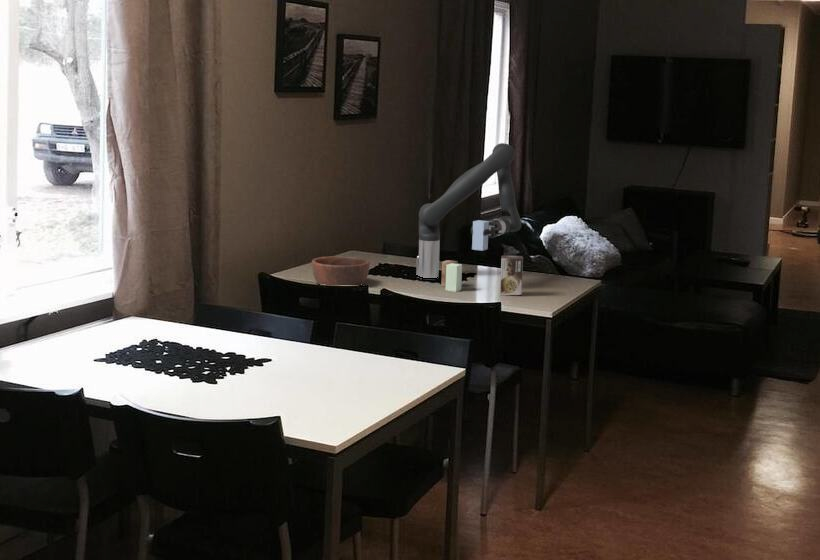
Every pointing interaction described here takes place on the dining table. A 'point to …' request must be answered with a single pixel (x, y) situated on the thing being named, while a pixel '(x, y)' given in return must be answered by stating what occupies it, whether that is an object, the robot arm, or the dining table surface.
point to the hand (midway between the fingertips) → (478, 232)
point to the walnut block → (444, 263)
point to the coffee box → (511, 274)
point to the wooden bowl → (340, 270)
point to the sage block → (453, 277)
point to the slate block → (480, 235)
